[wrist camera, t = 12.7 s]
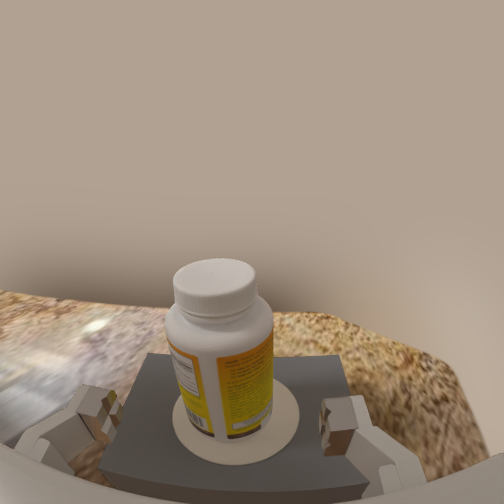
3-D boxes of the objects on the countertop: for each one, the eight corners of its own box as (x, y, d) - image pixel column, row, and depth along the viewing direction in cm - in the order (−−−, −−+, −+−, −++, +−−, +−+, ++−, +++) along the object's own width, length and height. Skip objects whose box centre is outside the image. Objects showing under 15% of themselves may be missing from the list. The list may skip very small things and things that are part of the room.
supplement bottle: (278, 389, 20) (281, 254, 16) (263, 452, 15) (261, 310, 11) (203, 378, 21) (184, 249, 17) (175, 434, 16) (133, 295, 12)
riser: (119, 493, 14) (96, 466, 13) (157, 384, 26) (147, 351, 24) (355, 504, 14) (373, 480, 12) (332, 387, 25) (339, 352, 23)
